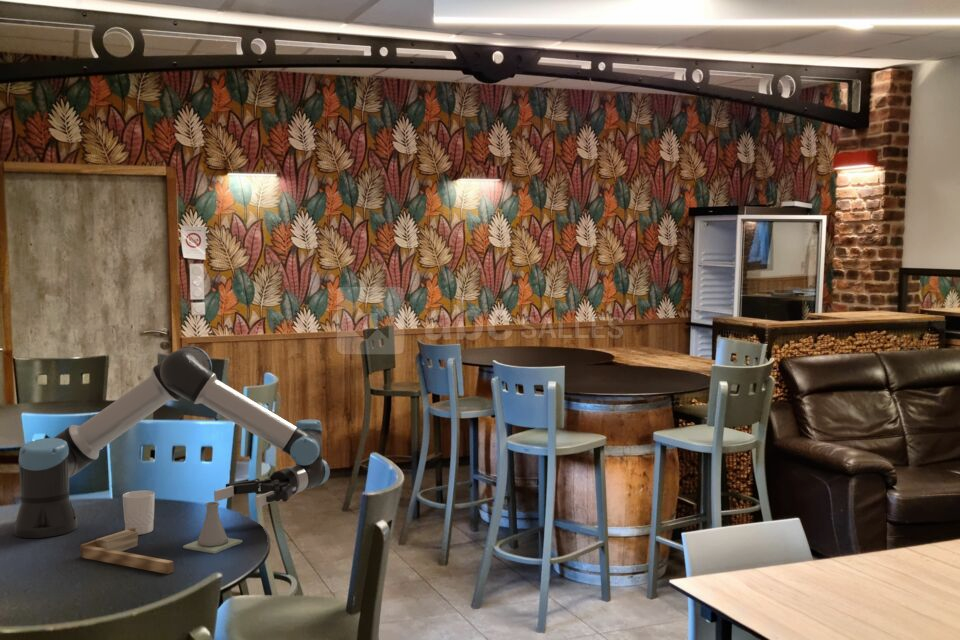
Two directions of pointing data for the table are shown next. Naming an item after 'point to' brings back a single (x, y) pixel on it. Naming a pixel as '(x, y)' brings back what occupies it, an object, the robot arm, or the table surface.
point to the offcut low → (125, 546)
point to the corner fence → (125, 558)
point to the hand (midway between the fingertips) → (235, 499)
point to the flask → (212, 527)
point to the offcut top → (117, 539)
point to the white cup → (139, 510)
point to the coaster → (212, 548)
